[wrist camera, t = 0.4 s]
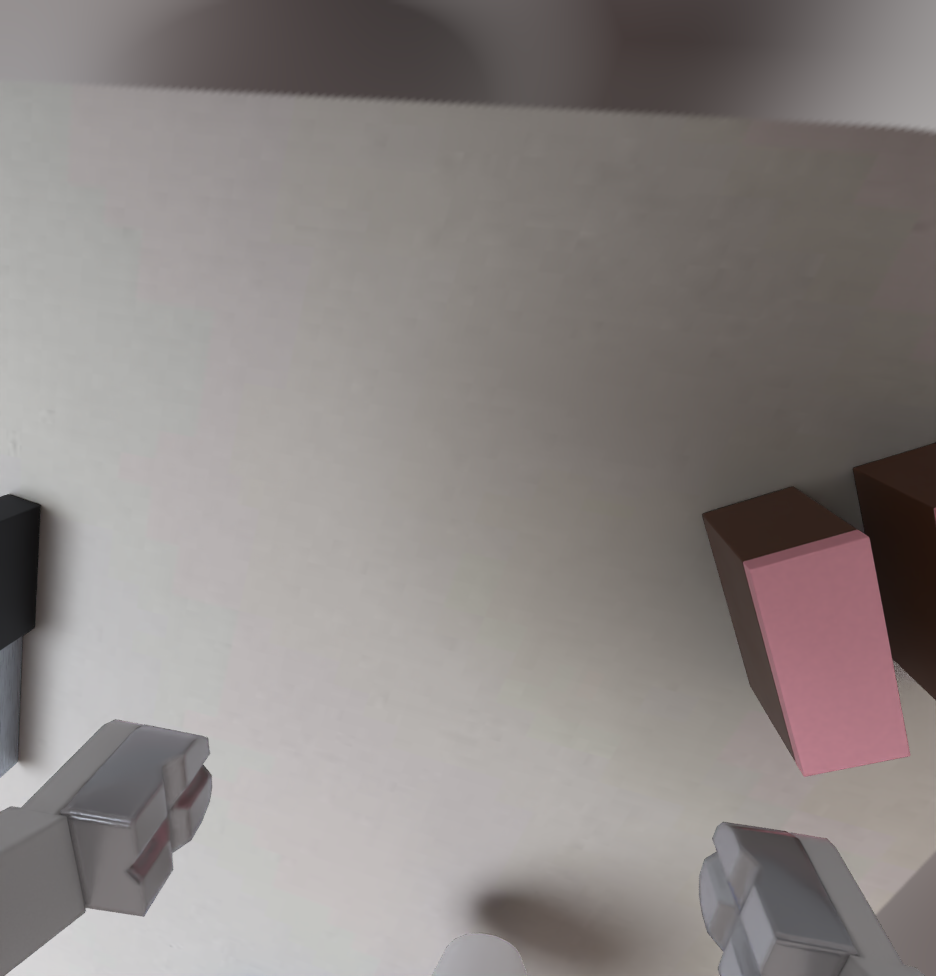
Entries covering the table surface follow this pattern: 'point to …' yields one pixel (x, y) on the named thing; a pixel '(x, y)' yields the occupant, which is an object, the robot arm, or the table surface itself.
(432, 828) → the table surface
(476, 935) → the cup
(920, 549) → the cake
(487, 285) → the table surface
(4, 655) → the knife
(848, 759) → the cake slice
